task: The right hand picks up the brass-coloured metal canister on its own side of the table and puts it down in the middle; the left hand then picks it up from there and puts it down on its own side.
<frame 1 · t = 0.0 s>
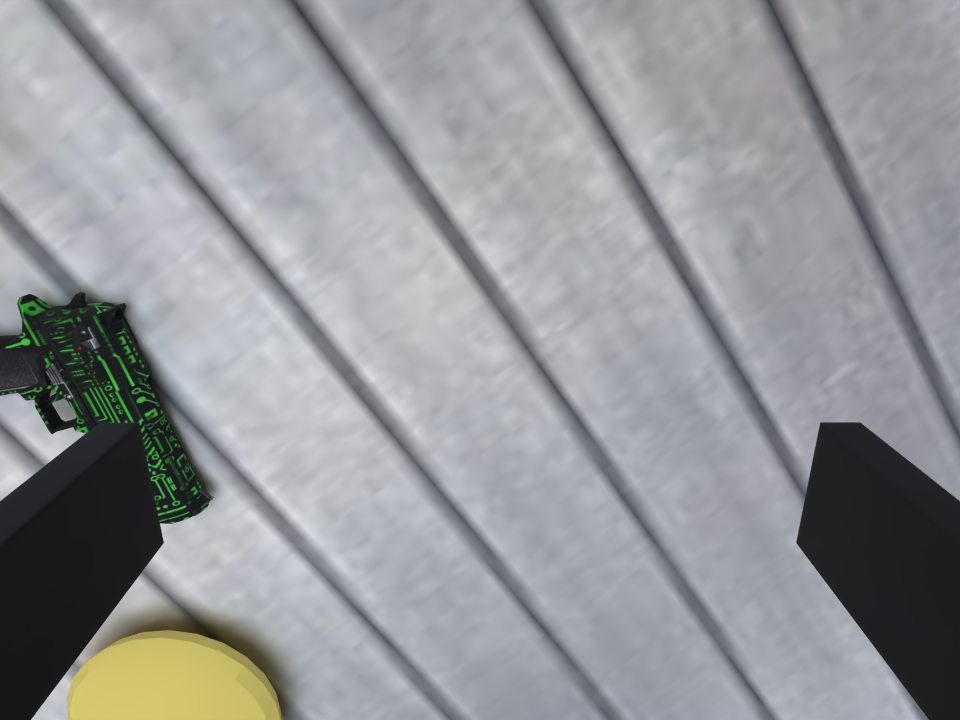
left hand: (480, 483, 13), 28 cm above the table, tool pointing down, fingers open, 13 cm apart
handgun: (76, 409, 43), on the table
yellow pot lid: (192, 686, 51), on the table
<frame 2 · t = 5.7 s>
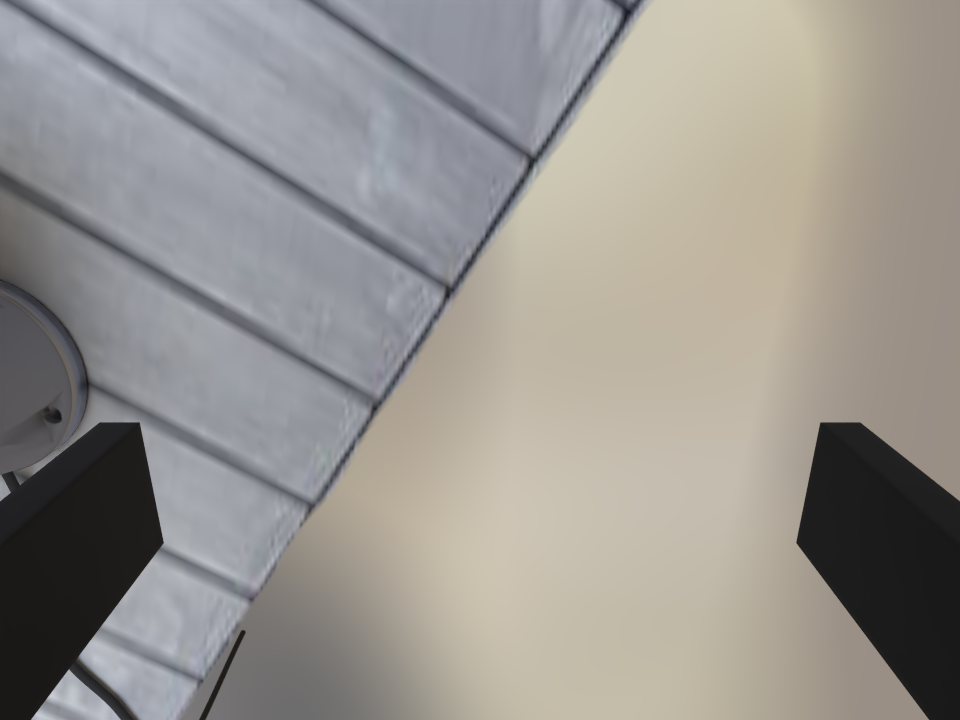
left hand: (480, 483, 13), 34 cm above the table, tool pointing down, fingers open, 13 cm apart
when the right hand's fingers open (4 cm above the table, at t = 16.7 s): canister drops 2 cm, on the table.
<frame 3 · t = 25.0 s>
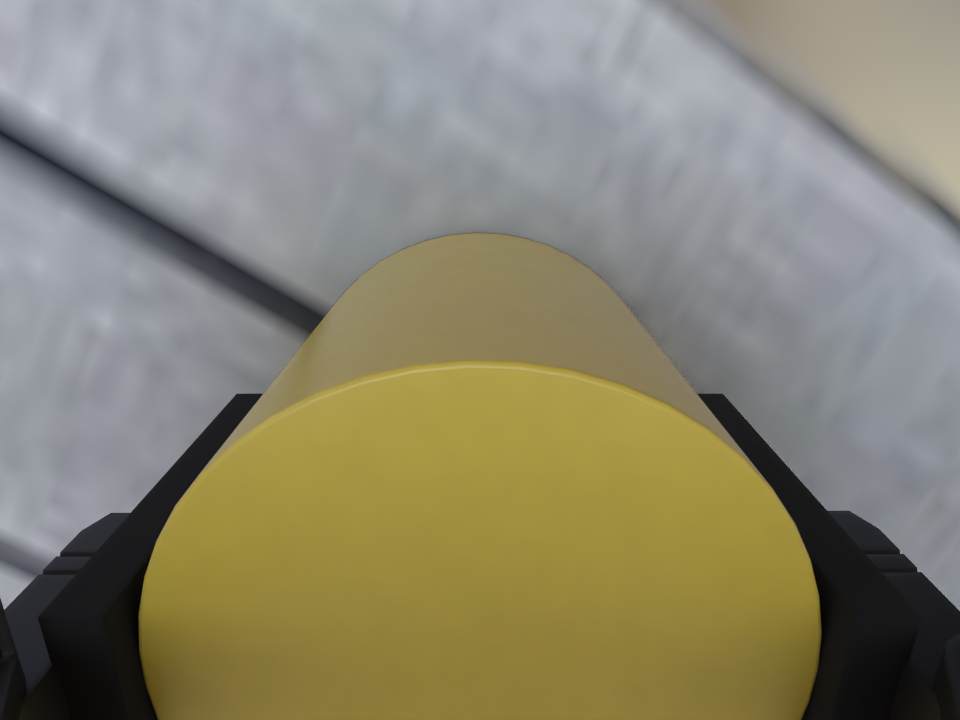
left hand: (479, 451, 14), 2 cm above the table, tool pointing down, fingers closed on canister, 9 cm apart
canister: (479, 406, 16), on the table, touching left hand
when the left hand's fingers open (4 cm above the table, at t = 30.8 s): canister drops 2 cm, on the table.
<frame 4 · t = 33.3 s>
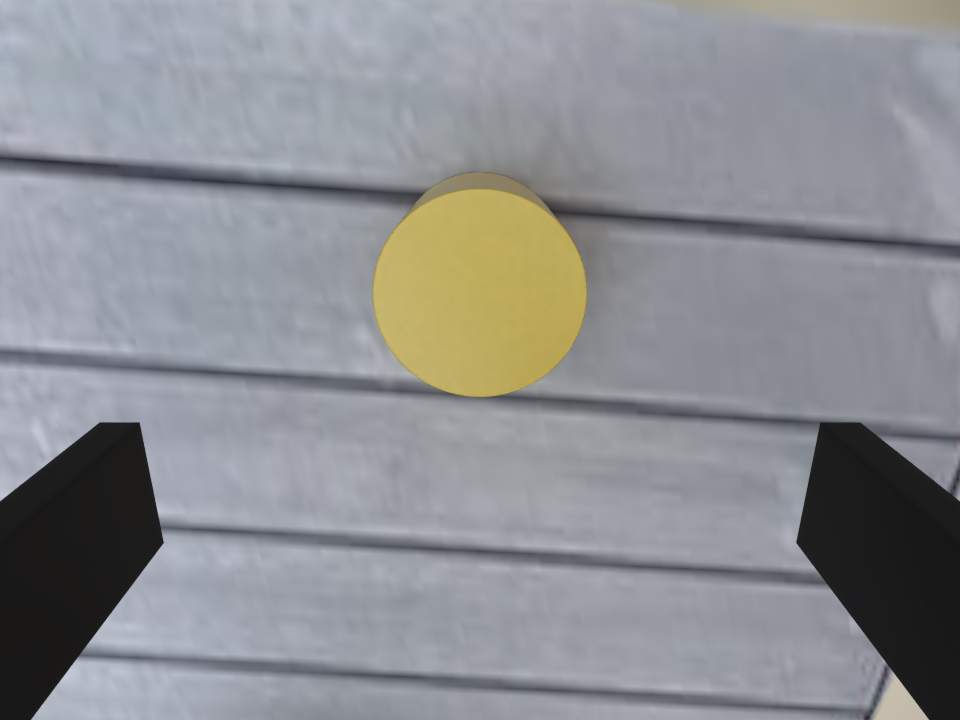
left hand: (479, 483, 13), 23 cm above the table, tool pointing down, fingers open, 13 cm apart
canister: (479, 257, 34), on the table
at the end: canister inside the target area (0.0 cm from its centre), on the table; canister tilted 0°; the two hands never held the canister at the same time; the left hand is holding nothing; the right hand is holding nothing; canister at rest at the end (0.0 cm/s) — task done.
